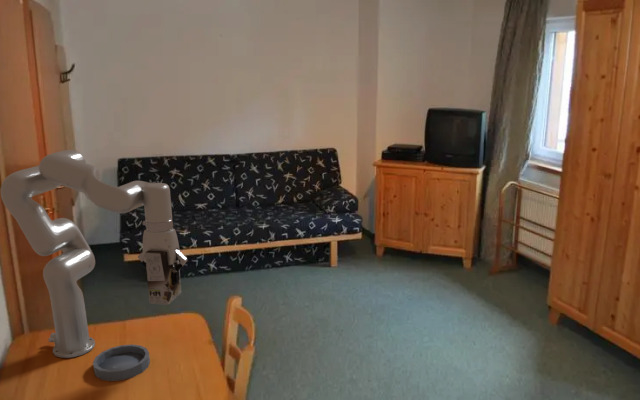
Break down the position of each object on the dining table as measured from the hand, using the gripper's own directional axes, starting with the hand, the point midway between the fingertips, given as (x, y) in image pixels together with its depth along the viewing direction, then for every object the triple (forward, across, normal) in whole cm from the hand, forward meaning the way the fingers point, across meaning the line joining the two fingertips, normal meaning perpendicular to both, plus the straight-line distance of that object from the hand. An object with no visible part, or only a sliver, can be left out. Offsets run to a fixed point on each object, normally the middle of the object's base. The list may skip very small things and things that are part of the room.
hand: (164, 282), depth 170 cm
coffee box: (+5, 0, 0) cm, 5 cm away
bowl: (+25, -12, -8) cm, 29 cm away
